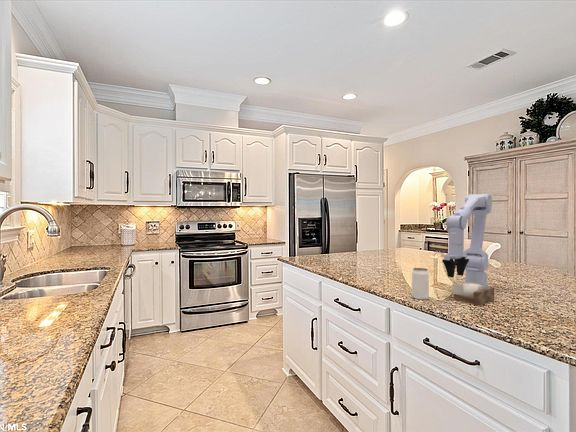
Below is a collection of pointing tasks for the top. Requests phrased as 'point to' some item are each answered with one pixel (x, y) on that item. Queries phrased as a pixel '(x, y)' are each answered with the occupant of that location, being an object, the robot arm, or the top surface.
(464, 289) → the jug
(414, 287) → the can
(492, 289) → the holder
